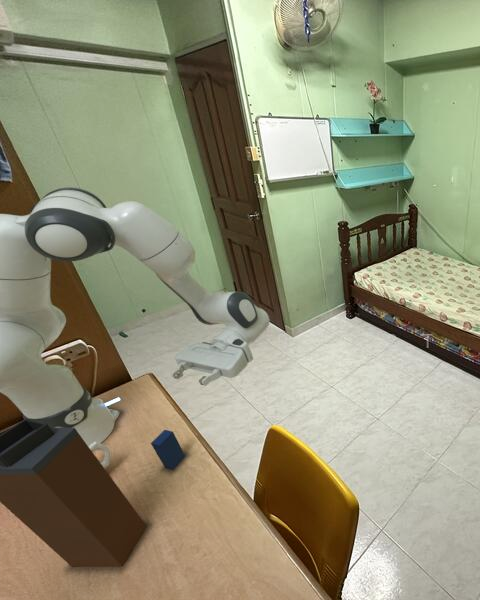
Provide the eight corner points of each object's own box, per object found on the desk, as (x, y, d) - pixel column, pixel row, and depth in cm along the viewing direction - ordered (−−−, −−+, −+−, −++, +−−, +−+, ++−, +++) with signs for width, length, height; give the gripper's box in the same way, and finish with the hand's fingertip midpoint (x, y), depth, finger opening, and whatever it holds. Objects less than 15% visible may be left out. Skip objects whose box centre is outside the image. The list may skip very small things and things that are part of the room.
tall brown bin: (71, 567, 62) (-49, 458, 45) (101, 526, 68) (5, 417, 51) (122, 566, 62) (21, 458, 45) (147, 526, 69) (67, 417, 52)
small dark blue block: (164, 468, 80) (150, 443, 75) (177, 454, 84) (164, 429, 79) (173, 470, 80) (159, 445, 75) (185, 456, 83) (173, 431, 78)
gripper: (196, 333, 94) (153, 364, 83) (251, 343, 88) (213, 378, 77) (204, 349, 97) (164, 381, 86) (257, 360, 92) (222, 396, 80)
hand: (187, 380), depth 82 cm, fingers open, 8 cm apart
